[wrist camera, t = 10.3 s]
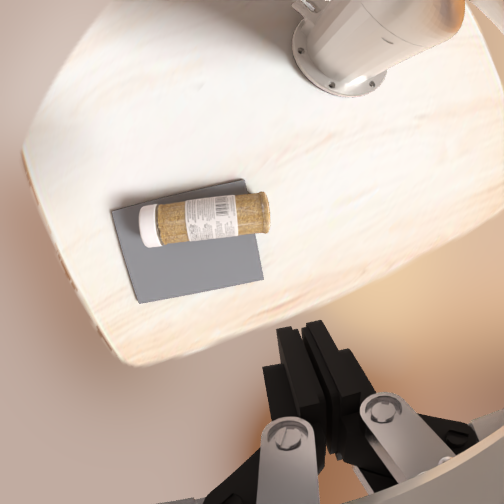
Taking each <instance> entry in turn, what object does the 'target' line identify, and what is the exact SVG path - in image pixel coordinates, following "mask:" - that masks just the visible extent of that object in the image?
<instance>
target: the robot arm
mask: <svg viewBox="0 0 504 504" xmlns="http://www.w3.org/2000/svg"><path fill="white" fill-rule="evenodd" d="M306 1H307V2H308V3H310V4H311V5H312V6H313V7H314V8H315V10H314V11H313V12H312V11H311V10H310V9H309V8H308V7H307V6H306V5H305V4H304V3H303V2H302V1H301V0H296V1H295V2H294V3H293V4H292V5H291V6H292V7H293V8H294V9H295V10H296V11H297V12H298V13H300V14H301V15H302V16H303V17H304V19H303V20H301V22H300V23H299V24H298V26H297V27H296V29H295V31H294V34H293V38H292V50H293V55H294V58H295V60H296V63H297V65H298V66H299V68H300V69H301V71H302V72H303V74H304V75H305V76H306V77H307V78H308V79H309V80H310V81H311V82H312V83H314V84H315V85H316V86H318V87H319V88H321V89H323V90H324V91H326V92H329V93H331V94H334V95H337V96H341V97H352V98H353V97H360V96H363V95H366V94H369V93H370V92H372V91H374V90H375V89H377V88H378V87H379V86H380V85H381V83H382V82H383V81H384V79H385V76H386V74H387V69H389V68H391V67H393V66H395V65H397V64H399V63H401V62H403V61H405V60H407V59H409V58H411V57H413V56H415V55H417V54H419V53H421V52H423V51H426V50H428V49H430V48H432V47H434V46H436V45H439V44H441V43H443V42H445V41H447V40H449V39H451V38H452V37H453V36H454V35H455V34H456V33H457V32H458V31H459V29H460V28H461V25H462V22H463V19H464V13H465V0H331V1H329V0H327V1H325V0H306ZM469 1H470V2H472V3H473V4H474V5H475V6H476V7H478V8H479V9H480V10H481V11H482V12H483V13H484V14H485V15H486V17H488V18H489V19H490V20H491V21H492V22H493V23H494V24H495V25H496V27H497V28H498V29H499V30H500V31H501V32H502V34H503V35H504V0H469ZM298 52H301V54H300V53H298ZM369 84H370V85H369ZM329 85H330V86H331V88H330V87H329ZM276 331H277V339H278V346H279V353H280V360H281V364H276V365H270V366H265V367H262V368H263V374H264V380H265V385H266V391H267V397H268V402H269V408H270V413H271V419H272V422H271V423H270V424H268V425H267V426H266V427H265V429H264V430H263V433H262V436H261V447H260V448H259V449H258V450H257V451H256V452H255V453H254V454H253V455H252V456H251V457H250V458H249V459H248V460H247V461H246V462H244V463H243V464H242V465H241V466H240V467H239V468H238V469H237V470H236V471H235V472H233V473H232V474H231V475H230V476H229V477H228V478H227V479H226V480H224V481H223V482H222V483H221V484H220V485H219V486H218V487H216V488H215V489H214V490H213V491H211V492H210V494H208V495H207V497H205V498H200V499H194V498H188V499H183V500H177V501H171V502H165V503H158V504H320V500H319V485H318V475H319V473H320V472H321V471H322V469H323V468H324V466H325V465H324V464H325V455H326V446H327V449H328V451H329V453H330V454H334V453H335V455H336V458H337V460H341V459H343V461H344V462H346V463H349V464H351V465H352V468H353V470H354V472H355V474H356V475H357V477H358V479H359V480H360V482H361V483H362V485H363V486H364V488H365V490H366V491H367V493H368V496H365V497H362V498H359V499H356V500H352V501H349V502H346V503H342V504H504V409H501V410H498V411H496V412H494V413H491V414H488V415H485V416H482V417H479V418H477V419H474V420H471V421H470V423H469V424H465V423H462V422H457V421H452V420H446V419H442V418H437V417H431V416H427V415H422V414H418V413H416V412H415V411H414V410H413V409H412V408H411V407H410V406H409V405H408V404H407V402H405V400H404V399H403V398H401V397H400V396H399V395H396V394H394V393H388V392H381V393H376V391H375V390H374V388H373V386H372V385H371V383H370V381H369V380H368V378H367V376H366V375H365V373H364V371H363V370H362V368H361V366H360V365H359V363H358V361H357V360H356V358H355V357H354V355H353V353H352V352H351V350H350V349H343V350H340V351H339V350H338V348H337V347H336V345H335V343H334V341H333V340H332V338H331V336H330V334H329V332H328V331H327V329H326V327H325V325H324V324H323V322H322V320H318V321H314V322H309V323H306V327H304V328H302V338H301V336H300V334H299V331H298V329H294V330H292V327H291V326H290V327H285V328H279V329H276Z"/></svg>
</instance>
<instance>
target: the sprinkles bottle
mask: <svg viewBox="0 0 504 504" xmlns="http://www.w3.org/2000/svg"><path fill="white" fill-rule="evenodd" d="M269 228H270V212H269V203H268V199H267V196H266V194H265V193H264V192H259V193H254V194H244V195H236V196H235V195H228V196H219V197H210V198H202V199H194V200H187V201H185V202H178V203H171V204H165V205H162V204H160V205H158V204H153V205H147V206H143V207H142V208H141V209H140V213H139V230H140V235H141V238H142V241H143V243H144V245H145V246H146V247H148V248H151V247H160V246H163V244H164V245H166V244H168V243H178V242H186V241H199V240H208V239H216V238H225V237H233V236H239V235H246V234H255V233H268V231H269Z"/></svg>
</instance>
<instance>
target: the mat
mask: <svg viewBox="0 0 504 504" xmlns="http://www.w3.org/2000/svg"><path fill="white" fill-rule="evenodd" d="M244 194H247V189H246V184H245V180H240V181H235V182H230V183H226V184H221V185H216V186H211V187H207V188H202V189H198V190H193V191H189V192H185V193H180V194H176V195H172V196H168V197H164V198H160V199H156V200H152V201H148V202H144V203H140V204H137V205H133V206H129V207H125V208H122V209H118V210H115V211H112V215H113V219H114V223H115V227H116V230H117V234H118V238H119V241H120V245H121V248H122V252H123V255H124V259H125V262H126V265H127V269H128V272H129V275H130V278H131V281H132V284H133V287H134V290H135V293H136V296H137V299H138V302H139V304H141V303H147V302H153V301H158V300H163V299H169V298H174V297H179V296H185V295H190V294H195V293H200V292H205V291H210V290H215V289H220V288H225V287H230V286H235V285H240V284H245V283H250V282H254V281H259V280H264V278H263V272H262V267H261V262H260V257H259V251H258V246H257V241H256V236H255V234H246V235H239V236H233V237H225V238H216V239H208V240H199V241H186V242H178V243H168V244H166V245H164V244H163V246H160V247H151V248H148V247H146V246H145V245H144V243H143V241H142V238H141V235H140V230H139V213H140V209H141V208H142V207H143V206H147V205H153V204H158V205H160V204H162V205H165V204H171V203H178V202H185V201H187V200H194V199H202V198H210V197H219V196H228V195H235V196H236V195H244Z"/></svg>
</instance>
